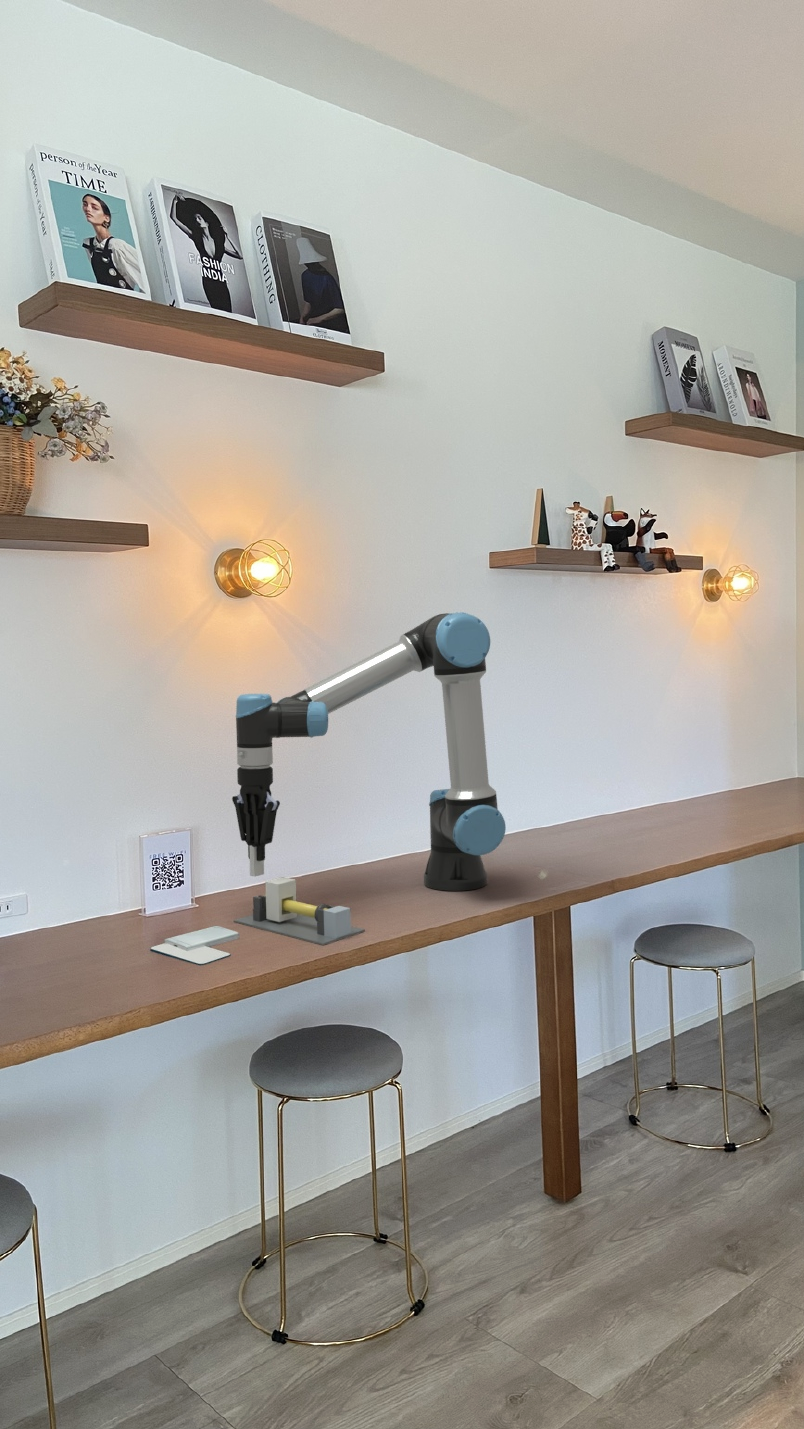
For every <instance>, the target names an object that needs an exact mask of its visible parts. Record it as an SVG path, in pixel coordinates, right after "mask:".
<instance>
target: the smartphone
mask: <svg viewBox="0 0 804 1429" xmlns="http://www.w3.org/2000/svg"><path fill="white" fill-rule="evenodd" d="M149 951H150V952H153V953H157V954H160V955H161V956H166V957H169V958H173V959H177V960H179V961H184V962H186V963H190V964H193V965H197V966H204V965H208V964H212V963H214V962H217V961H220V960H223V959H225V958H230V957H231V955H232V954H231V953H230V952H228V951H225V950H220V949H217V948H213V947H212V946H210V947H207V946H204V947H200V948H197V949H193V950H189V951H185V950H183V949H180V948H178V947H176V946H173V945H170V944H167V943H164V942H163V943H160V944H157V945H156V944H155V945H153V946H151V947H150V948H149Z"/></svg>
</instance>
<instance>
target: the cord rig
mask: <svg viewBox="0 0 804 1429" xmlns="http://www.w3.org/2000/svg"><path fill="white" fill-rule="evenodd" d="M252 908H253V909H252V914H251V915H246V916H243V917H240V918H236V919H233V923H237V924H241V925H245V926H248V927H252V928H256V929H260V930H263V931H266V932H271V933H274V934H279V935H282V936H286V937H288V938H289V937H290V938H293V939H296V940H297V939H298V940H301V941H305V942H309V943H312V944H316V945H320V946H326V945H330V944H331V943H335V942H339V941H340V940H344V939H347V938H349V937H354V936H355V935H358V934H361V933H364V932H366V929H364V928H361V927H357V926H352V924H351V923H352V921H351V920H352V915H351V907H346V906H342V905H337V906H336V905H328V904H324V903H320V904H318V905H313V904H310V903H309V904H308V903H305V902H300V901H297V900H296V901H292V900H288V899H282V910H284V911H288V912H292V913H296V914H297V917H294V918H291V919H288V920H284V921H281V922H277V921H273V920H269V919H266V894H263V895H262V894H260V895H258V896H253V897H252Z"/></svg>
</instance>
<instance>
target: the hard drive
mask: <svg viewBox="0 0 804 1429" xmlns="http://www.w3.org/2000/svg"><path fill="white" fill-rule="evenodd" d="M238 939H240V934H239V932H238V931H235V930H232V929H229V928H225V927H223V926H219V925H214V926H210V927H207V928H202V929H200V930H195V931H191V932H190V931H189V932H188V933H183V934H179V935H176V936H172V937H169V938H165V939H163V943H167V944H170V945H173V946H176V947H178V948H180V949H183V950H185V951H189V950H193V949H197V948H200V947H204V946H207V947H214V946H216V945H220V944H224V943H228V942H231V941H235V940H238Z"/></svg>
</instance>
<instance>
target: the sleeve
mask: <svg viewBox="0 0 804 1429" xmlns="http://www.w3.org/2000/svg"><path fill="white" fill-rule="evenodd" d="M265 895H266V919H269V920H273V921H277V922H281V921H284V920H288V919H291V918H294V917H297V914H296V913H292V912H288V911H284V910H282V899H288V900H292V901H297V880H296V879H294V878H289V877H285V876H282V877H278V878H275V879H271V880H267V881H265Z"/></svg>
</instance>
